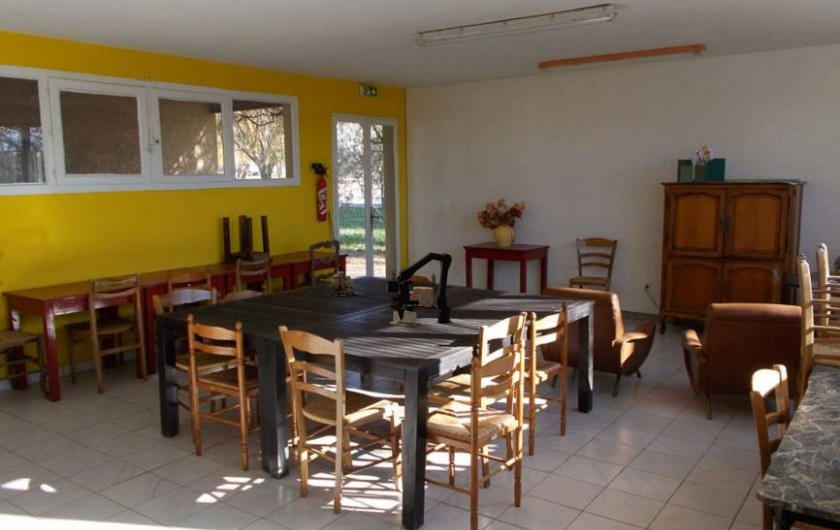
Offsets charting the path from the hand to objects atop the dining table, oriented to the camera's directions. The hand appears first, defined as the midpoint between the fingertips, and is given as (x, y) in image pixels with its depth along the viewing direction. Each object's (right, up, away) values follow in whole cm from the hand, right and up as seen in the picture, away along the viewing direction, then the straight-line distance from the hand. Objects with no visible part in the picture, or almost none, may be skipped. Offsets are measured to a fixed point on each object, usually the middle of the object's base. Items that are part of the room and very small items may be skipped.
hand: (405, 319), depth 401 cm
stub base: (0, -3, 0) cm, 3 cm away
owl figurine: (-46, +9, +100) cm, 111 cm away
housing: (0, -1, 0) cm, 1 cm away
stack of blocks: (+6, +4, +57) cm, 57 cm away
